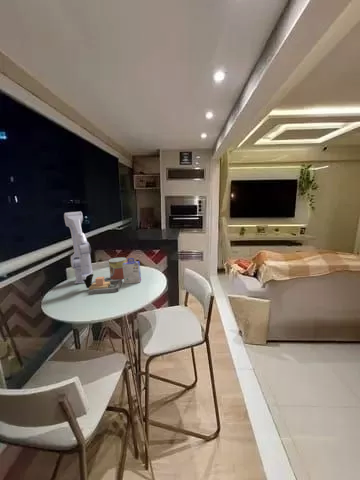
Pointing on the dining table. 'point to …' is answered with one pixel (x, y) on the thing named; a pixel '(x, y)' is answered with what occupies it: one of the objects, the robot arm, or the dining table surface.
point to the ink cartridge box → (131, 271)
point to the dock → (107, 288)
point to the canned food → (116, 268)
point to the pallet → (93, 286)
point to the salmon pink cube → (100, 281)
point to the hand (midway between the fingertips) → (89, 287)
